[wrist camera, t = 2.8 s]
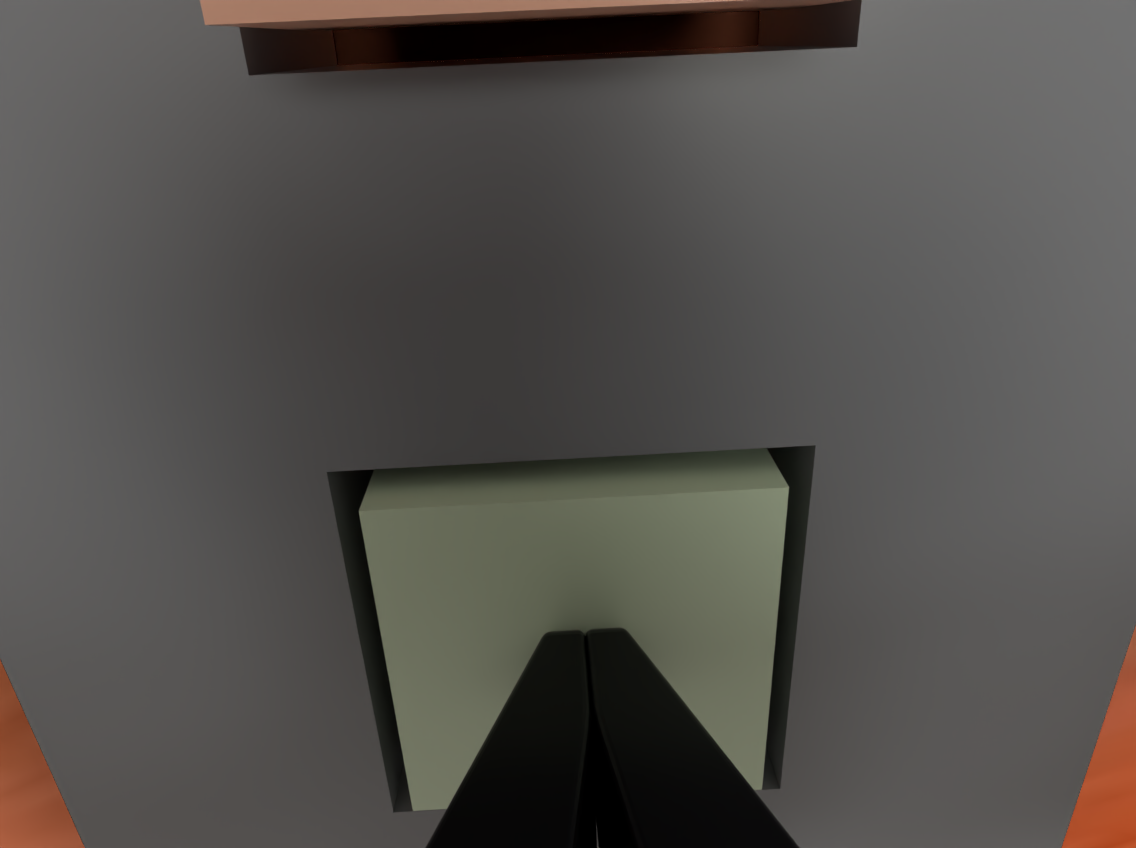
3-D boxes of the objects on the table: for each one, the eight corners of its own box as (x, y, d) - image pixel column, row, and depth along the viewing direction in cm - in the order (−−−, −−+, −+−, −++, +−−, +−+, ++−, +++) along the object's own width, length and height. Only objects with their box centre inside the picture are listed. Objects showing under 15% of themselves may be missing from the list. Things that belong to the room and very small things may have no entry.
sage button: (730, 384, 10) (789, 487, 7) (716, 642, 11) (762, 790, 9) (399, 401, 10) (359, 511, 7) (437, 658, 11) (412, 810, 9)
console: (1338, -1113, 6) (2060, -2155, 3) (877, 1015, 17) (943, 1200, 14) (-378, -1070, 6) (-1267, -2154, 3) (308, 1053, 17) (264, 1247, 14)
